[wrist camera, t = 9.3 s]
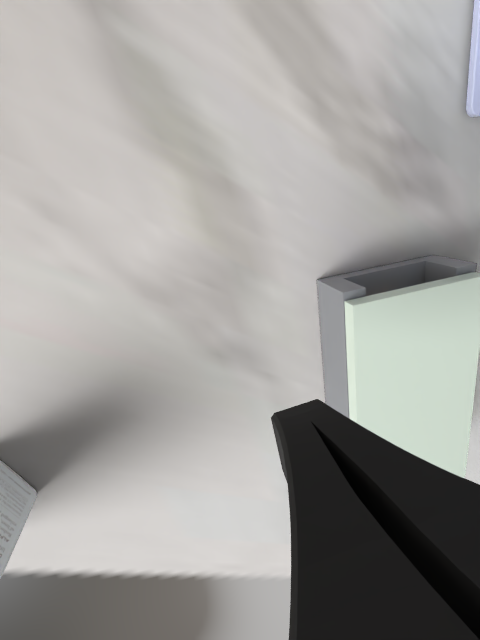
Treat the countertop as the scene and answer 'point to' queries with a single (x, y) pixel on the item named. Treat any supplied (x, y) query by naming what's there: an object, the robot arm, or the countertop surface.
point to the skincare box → (12, 510)
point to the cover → (417, 366)
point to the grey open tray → (362, 285)
